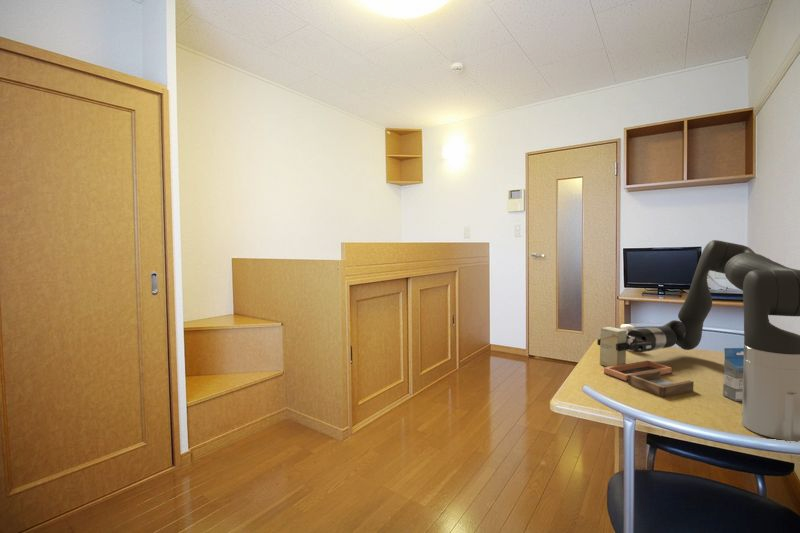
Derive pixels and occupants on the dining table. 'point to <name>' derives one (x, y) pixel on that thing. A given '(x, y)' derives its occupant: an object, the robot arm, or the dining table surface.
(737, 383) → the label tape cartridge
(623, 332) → the skincare box
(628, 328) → the milkshake
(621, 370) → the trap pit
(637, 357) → the dining table surface
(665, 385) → the walled bay
